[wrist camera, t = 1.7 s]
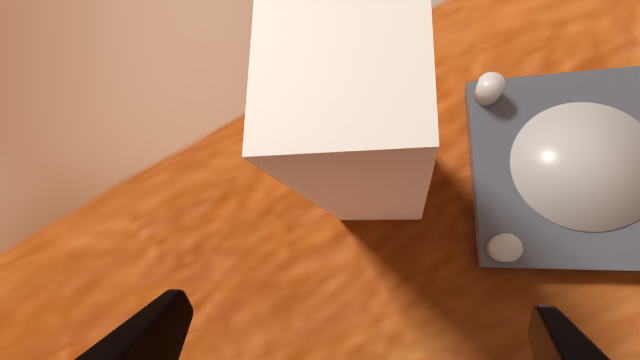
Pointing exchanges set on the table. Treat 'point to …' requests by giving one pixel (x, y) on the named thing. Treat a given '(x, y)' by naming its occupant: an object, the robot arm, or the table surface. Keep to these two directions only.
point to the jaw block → (345, 103)
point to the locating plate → (556, 169)
